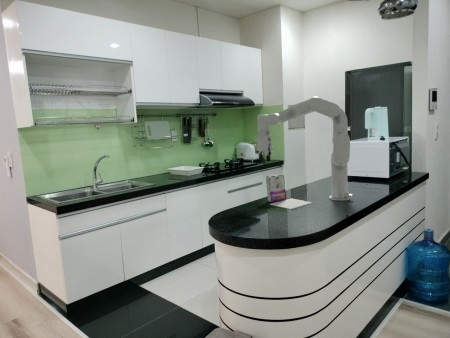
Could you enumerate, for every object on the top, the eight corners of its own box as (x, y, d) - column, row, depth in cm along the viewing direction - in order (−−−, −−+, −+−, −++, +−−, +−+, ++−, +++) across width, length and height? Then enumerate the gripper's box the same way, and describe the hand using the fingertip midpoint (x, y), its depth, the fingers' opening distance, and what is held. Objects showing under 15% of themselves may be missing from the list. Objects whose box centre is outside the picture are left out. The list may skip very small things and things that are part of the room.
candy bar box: (282, 199, 223) (280, 174, 222) (286, 199, 218) (284, 174, 218) (267, 201, 219) (265, 176, 218) (271, 202, 214) (269, 176, 213)
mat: (312, 203, 209) (312, 202, 209) (290, 209, 197) (290, 208, 197) (291, 198, 222) (291, 198, 222) (269, 204, 210) (269, 204, 210)
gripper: (277, 133, 216) (278, 161, 219) (258, 133, 230) (259, 159, 232) (269, 133, 211) (270, 162, 214) (250, 133, 225) (251, 160, 228)
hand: (264, 160), depth 223 cm, fingers open, 6 cm apart
